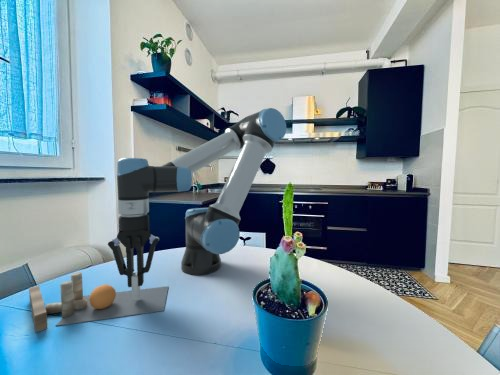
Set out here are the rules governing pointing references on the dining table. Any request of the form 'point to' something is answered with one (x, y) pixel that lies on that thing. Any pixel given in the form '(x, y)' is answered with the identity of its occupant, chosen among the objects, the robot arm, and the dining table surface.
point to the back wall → (38, 309)
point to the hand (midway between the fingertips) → (136, 296)
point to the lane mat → (121, 306)
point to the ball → (102, 297)
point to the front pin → (58, 308)
